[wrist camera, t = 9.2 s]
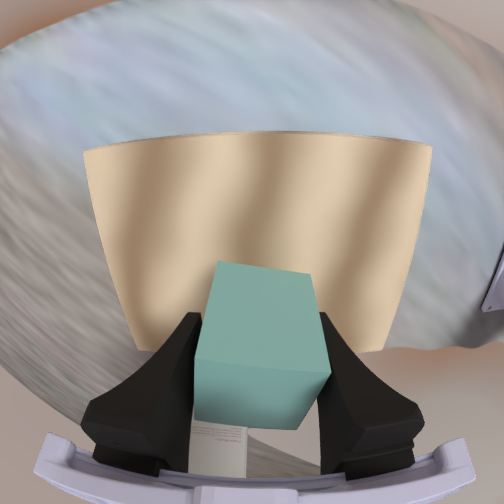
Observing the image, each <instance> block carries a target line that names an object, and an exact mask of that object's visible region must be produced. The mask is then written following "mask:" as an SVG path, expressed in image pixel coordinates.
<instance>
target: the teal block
mask: <svg viewBox="0 0 504 504" xmlns="http://www.w3.org/2000/svg"><path fill="white" fill-rule="evenodd" d="M330 374H331V368H330V363H329V358H328V353H327V348H326V343H325V338H324V333H323V328H322V324H321V319H320V314H319V310H318V305H317V301H316V296H315V292H314V288H313V283H312V279H311V275H310V274H307V273H300V272H293V271H286V270H279V269H272V268H265V267H258V266H251V265H245V264H238V263H231V262H224V261H218V262H217V266H216V270H215V274H214V278H213V282H212V286H211V290H210V295H209V299H208V303H207V307H206V311H205V315H204V320H203V324H202V328H201V332H200V337H199V341H198V345H197V350H196V354H195V365H194V420H197V421H203V422H209V423H216V424H224V425H232V426H241V427H251V428H264V429H281V430H297V428H298V427H299V425H300V424H301V422H302V421H303V419H304V418H305V416H306V414H307V413H308V411H309V409H310V408H311V406H312V405H313V403H314V401H315V400H316V398H317V396H318V395H319V393H320V391H321V390H322V388H323V386H324V384H325V383H326V381H327V379H328V377H329V376H330Z"/></svg>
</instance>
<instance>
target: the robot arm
mask: <svg viewBox="0 0 504 504" xmlns="http://www.w3.org/2000/svg"><path fill="white" fill-rule="evenodd" d="M500 309H503V310H504V253H503V256H502V258H501V261H500V264H499V267H498V269H497V272H496V275H495V277H494V280H493V282H492V284H491V287H490V289H489V292H488V294H487V296H486V298H485V301H484V303H483V305H482V308H481V310H482V311H483V312H489V311H495V310H500ZM319 314H320V319H321V324H322V328H323V333H324V338H325V343H326V348H327V353H328V358H329V363H330V368H331V374H330V376H329V377H328V379H327V381H326V383H325V384H324V386H323V388H322V390H321V391H320V393H319V395H318V396H317V403H318V413H319V428H320V449H321V450H320V451H321V475H318V476H307V477H291V478H234V477H218V476H207V475H197V474H189V473H188V466H189V446H190V433H191V422H192V414H193V406H194V365H195V354H196V350H197V345H198V341H199V337H200V332H201V328H202V324H203V323H202V317H201V312H188V313H186V315H185V316H184V318H183V319H182V320H181V322H180V323H179V325H178V326H177V327H176V329H175V330H174V331H173V333H172V334H171V335H170V336H169V338H168V339H167V340H166V342H165V343H164V344H163V345H162V346H161V347H160V348H159V350H158V351H157V352H156V353H155V354H154V355H153V356H152V357H151V358H150V359H149V360H148V361H147V362H146V363H145V364H144V365H143V366H142V367H141V368H140V369H139V370H137V371H136V372H135V373H134V374H133V375H131V376H130V377H129V378H128V379H126V380H125V381H123V382H122V383H121V384H119V385H118V386H116V387H115V388H113V389H111V390H110V391H108V392H106V393H104V394H103V395H101V396H99V397H97V398H95V399H93V400H91V401H90V403H89V405H88V406H87V409H86V411H85V414H84V416H83V419H82V421H81V424H80V425H81V428H82V429H83V431H84V432H85V433H86V434H87V435H88V436H89V437H90V438H91V439H92V440H93V441H94V442H95V443H96V446H95V449H94V452H90V451H86V450H83V449H80V448H77V447H76V446H75V444H74V443H72V442H71V441H70V440H68V439H66V438H64V437H61V436H58V435H56V434H53V433H51V432H48V434H47V436H46V439H45V441H44V443H43V446H42V448H41V451H40V454H39V456H38V459H37V462H36V465H35V467H34V470H33V471H34V473H35V474H37V475H38V476H40V477H42V478H43V479H45V480H46V481H48V482H49V483H51V484H53V485H54V486H56V487H58V488H59V489H61V490H63V491H66V492H68V493H70V494H72V495H75V496H77V497H80V498H82V499H84V500H87V501H89V502H92V503H95V504H429V503H432V502H434V501H436V500H439V499H442V498H444V497H446V496H449V495H451V494H452V493H454V492H456V491H458V490H459V489H461V488H463V487H464V486H466V485H468V484H469V483H471V482H472V481H474V480H475V479H476V475H475V472H474V468H473V465H472V462H471V459H470V455H469V452H468V450H467V446H466V444H465V440H464V438H463V437H460V438H457V439H454V440H452V441H449V442H446V443H444V444H442V445H440V446H438V447H437V448H436V449H435V450H434V451H433V452H432V453H428V454H425V455H422V456H418V457H414V455H413V451H412V448H413V447H414V442H413V438H415V436H416V435H417V434H418V433H419V432H420V431H421V430H422V428H423V427H424V423H425V422H424V419H423V416H422V413H421V411H420V409H419V407H418V405H417V404H416V403H415V402H413V401H411V400H409V399H408V398H406V397H404V396H402V395H401V394H399V393H398V392H396V391H395V390H393V389H392V388H391V387H389V386H388V385H387V384H386V383H384V382H383V381H382V380H380V379H379V378H378V377H377V376H376V375H375V374H374V373H373V372H371V371H370V370H369V369H368V368H367V367H366V366H365V365H364V364H363V362H362V361H360V359H359V358H358V357H357V356H356V355H355V353H354V352H353V351H352V350H351V349H350V347H349V346H348V345H347V343H346V342H345V341H344V339H343V338H342V337H341V335H340V334H339V332H338V331H337V329H336V328H335V326H334V325H333V323H332V322H331V320H330V318H329V317H328V315H327V314H326V313H325V312H319Z"/></svg>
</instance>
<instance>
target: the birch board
mask: <svg viewBox="0 0 504 504" xmlns="http://www.w3.org/2000/svg"><path fill="white" fill-rule="evenodd" d="M83 155H84V161H85V168H86V173H87V179H88V184H89V189H90V194H91V199H92V204H93V208H94V213H95V217H96V221H97V226H98V230H99V234H100V238H101V241H102V245H103V249H104V252H105V256H106V259H107V263H108V266H109V270H110V273H111V276H112V279H113V283H114V286H115V289H116V292H117V295H118V298H119V301H120V304H121V306H122V309H123V312H124V315H125V318H126V320H127V323H128V326H129V328H130V331H131V334H132V336H133V339H134V341H135V344H136V346H137V349H138V350H140V351H150V352H157V351H158V350H159V348H160V347H161V346H162V345H163V344H164V343H165V342H166V340H167V339H168V338H169V336H170V335H171V334H172V333H173V331H174V330H175V329H176V327H177V326H178V325H179V323H180V322H181V320H182V319H183V318H184V316H185V315H186V313H188V312H201V317H202V323H203V320H204V315H205V311H206V307H207V303H208V299H209V295H210V290H211V286H212V282H213V278H214V274H215V270H216V266H217V262H218V261H224V262H231V263H238V264H245V265H251V266H258V267H265V268H272V269H279V270H286V271H293V272H300V273H307V274H310V275H311V279H312V283H313V288H314V292H315V296H316V301H317V305H318V310H319V312H325V313H326V314H327V315H328V317H329V318H330V320H331V322H332V323H333V325H334V326H335V328H336V329H337V331H338V332H339V334H340V335H341V337H342V338H343V339H344V341H345V342H346V343H347V345H348V346H349V347H350V349H351V350H352V351H353V352H354V353H358V352H370V351H379V350H382V349H383V346H384V344H385V341H386V339H387V336H388V333H389V330H390V328H391V325H392V322H393V319H394V316H395V313H396V310H397V307H398V304H399V301H400V298H401V295H402V292H403V289H404V285H405V282H406V278H407V275H408V271H409V268H410V264H411V260H412V256H413V252H414V248H415V244H416V240H417V236H418V231H419V227H420V222H421V217H422V212H423V207H424V202H425V196H426V190H427V184H428V177H429V170H430V163H431V155H432V147H431V146H428V145H426V144H423V143H421V142H415V141H408V140H401V139H393V138H385V137H376V136H367V135H356V134H343V133H327V132H304V131H241V132H218V133H202V134H189V135H178V136H168V137H159V138H150V139H142V140H135V141H128V142H122V143H115V144H109V145H104V146H98V147H94V148H92V149H89V150H87V151H84V152H83Z"/></svg>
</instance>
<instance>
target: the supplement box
mask: <svg viewBox="0 0 504 504" xmlns="http://www.w3.org/2000/svg"><path fill="white" fill-rule="evenodd" d="M247 430H248V427H241V426H232V425H224V424H216V423H209V422H203V421H197V420H194V406H193V414H192V422H191V433H190V446H189V466H188V473H189V474H197V475H207V476H218V477H234V478H246V459H247Z"/></svg>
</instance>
